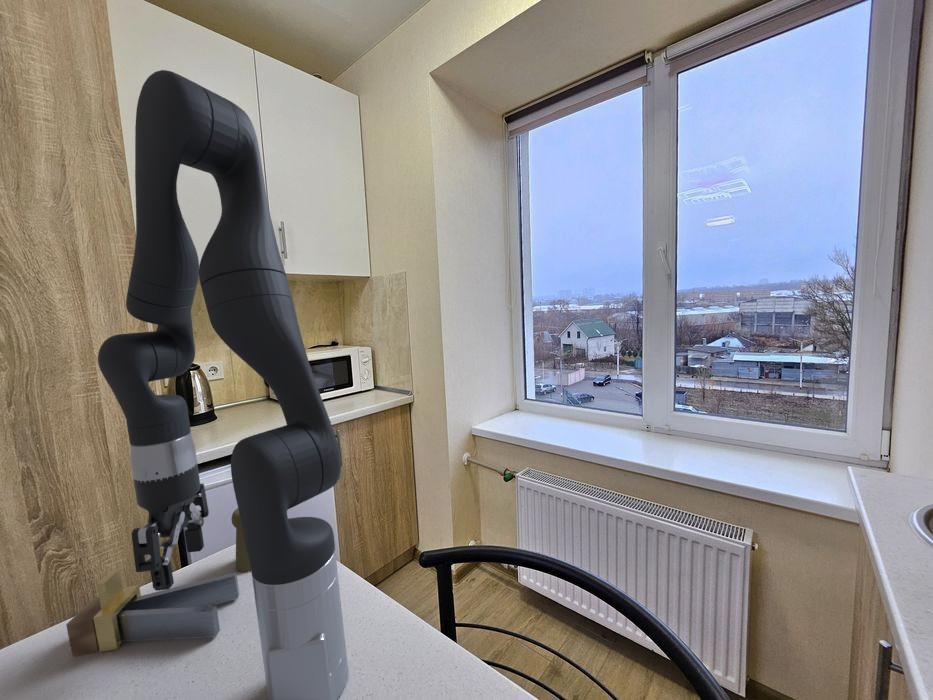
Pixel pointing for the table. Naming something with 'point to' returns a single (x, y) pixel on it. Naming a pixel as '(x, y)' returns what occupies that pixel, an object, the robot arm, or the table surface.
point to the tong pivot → (84, 630)
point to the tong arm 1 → (168, 623)
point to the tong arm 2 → (189, 595)
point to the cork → (240, 545)
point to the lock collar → (111, 609)
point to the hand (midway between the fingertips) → (181, 567)
